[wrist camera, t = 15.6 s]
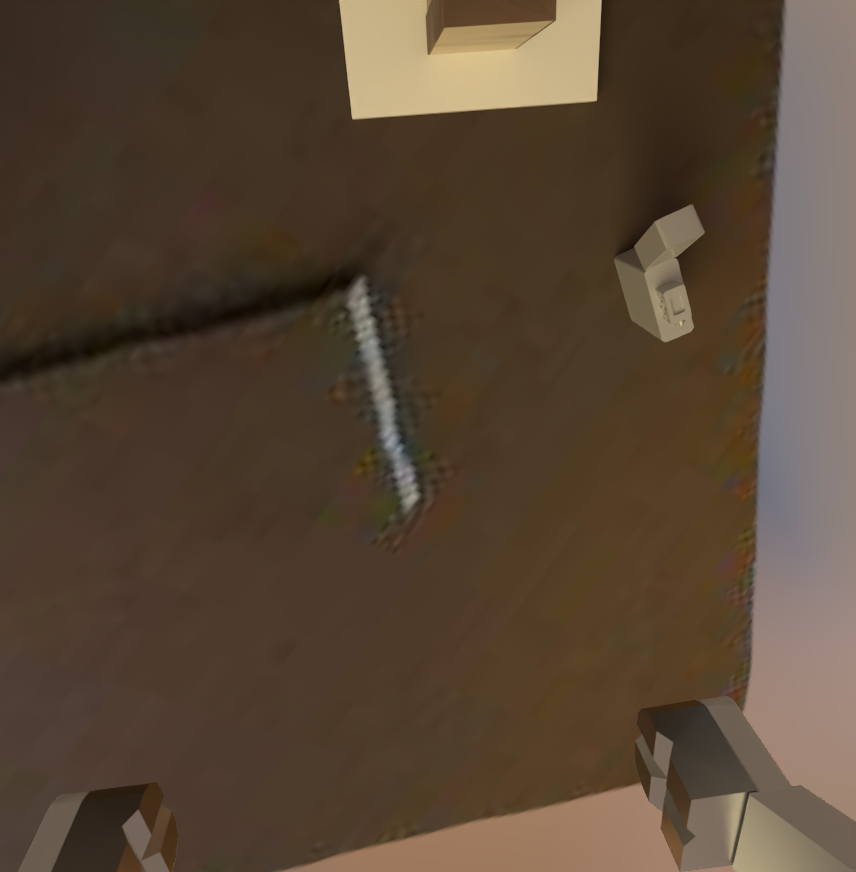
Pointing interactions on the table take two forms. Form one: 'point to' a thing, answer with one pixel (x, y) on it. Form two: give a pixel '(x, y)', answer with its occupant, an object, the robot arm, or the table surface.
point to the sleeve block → (484, 24)
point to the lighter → (660, 275)
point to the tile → (464, 63)
